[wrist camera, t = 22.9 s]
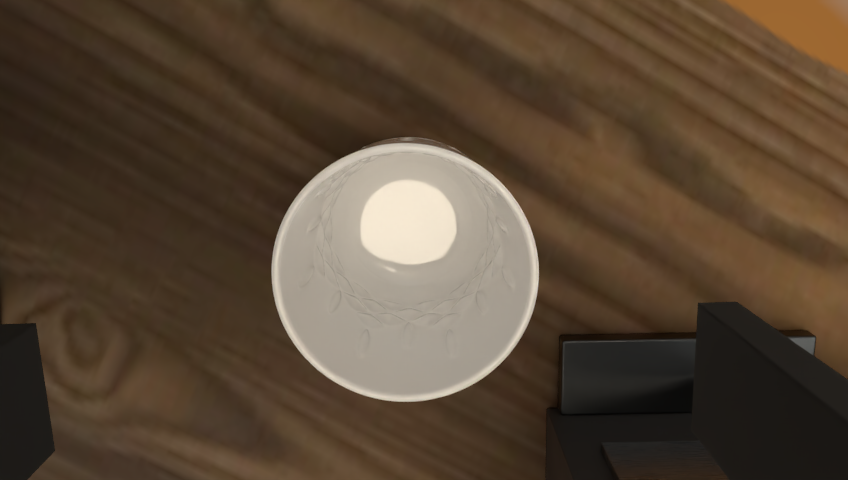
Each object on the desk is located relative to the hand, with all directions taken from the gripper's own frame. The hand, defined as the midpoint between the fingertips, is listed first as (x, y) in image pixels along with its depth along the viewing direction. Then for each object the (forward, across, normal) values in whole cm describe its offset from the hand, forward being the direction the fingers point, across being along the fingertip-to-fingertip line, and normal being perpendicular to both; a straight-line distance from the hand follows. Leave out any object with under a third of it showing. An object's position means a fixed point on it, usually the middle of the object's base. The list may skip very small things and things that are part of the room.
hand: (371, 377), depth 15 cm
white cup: (+17, +1, 0) cm, 17 cm away
